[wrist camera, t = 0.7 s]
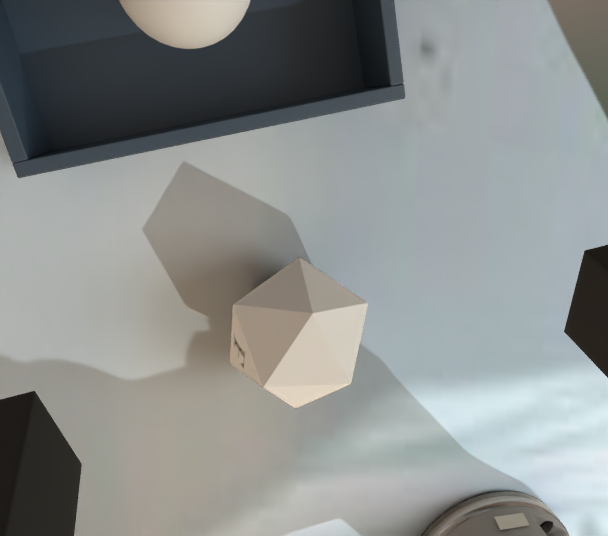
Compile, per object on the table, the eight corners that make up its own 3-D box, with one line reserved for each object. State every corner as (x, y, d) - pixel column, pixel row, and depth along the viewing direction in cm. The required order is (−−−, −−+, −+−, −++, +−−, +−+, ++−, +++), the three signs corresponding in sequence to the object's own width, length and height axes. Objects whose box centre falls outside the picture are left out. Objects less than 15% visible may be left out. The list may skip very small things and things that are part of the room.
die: (273, 222, 37) (195, 305, 29) (397, 264, 35) (348, 366, 27) (264, 313, 42) (195, 404, 34) (371, 354, 40) (324, 461, 32)
